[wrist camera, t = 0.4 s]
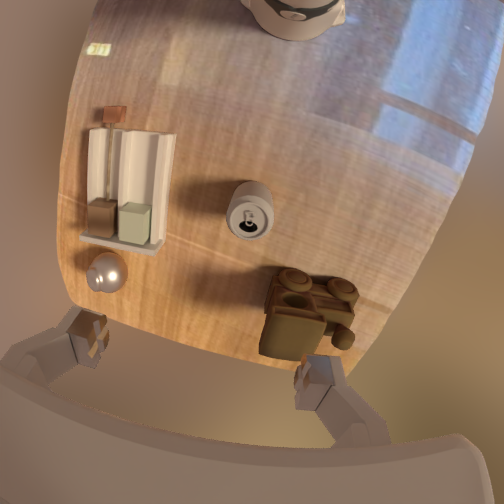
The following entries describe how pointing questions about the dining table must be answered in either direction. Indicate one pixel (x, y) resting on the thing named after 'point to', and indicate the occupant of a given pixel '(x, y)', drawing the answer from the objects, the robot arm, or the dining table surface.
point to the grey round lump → (107, 273)
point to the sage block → (135, 223)
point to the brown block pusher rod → (106, 209)
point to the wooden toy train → (306, 315)
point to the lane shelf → (132, 179)
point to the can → (250, 211)
